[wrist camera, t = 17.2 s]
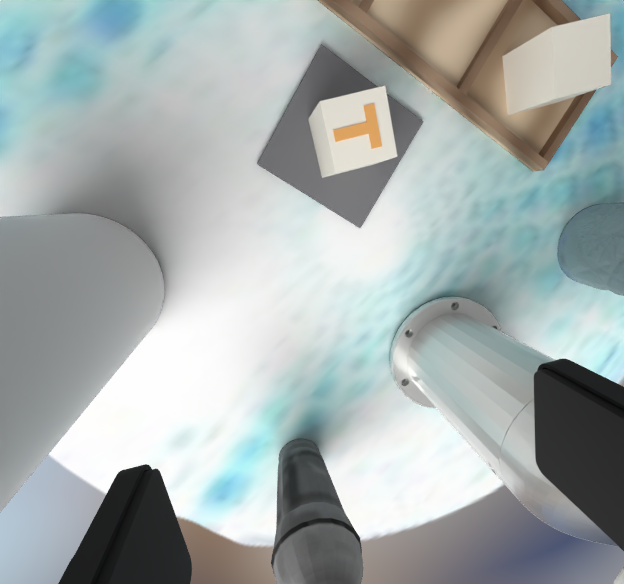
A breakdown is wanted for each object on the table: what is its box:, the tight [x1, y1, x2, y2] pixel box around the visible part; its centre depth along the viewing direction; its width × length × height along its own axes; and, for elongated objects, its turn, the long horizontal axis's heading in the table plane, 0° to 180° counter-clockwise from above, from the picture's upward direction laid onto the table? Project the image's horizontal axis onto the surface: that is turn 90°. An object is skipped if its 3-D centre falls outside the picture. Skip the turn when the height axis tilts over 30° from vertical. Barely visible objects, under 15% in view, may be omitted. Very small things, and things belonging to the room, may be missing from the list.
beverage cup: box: [271, 439, 363, 584], centre depth 29 cm, size 7×7×20 cm
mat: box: [258, 44, 423, 228], centre depth 32 cm, size 11×11×1 cm
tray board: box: [318, 0, 618, 171], centre depth 30 cm, size 33×12×1 cm, turn 59°
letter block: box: [308, 86, 397, 178], centre depth 29 cm, size 5×5×6 cm
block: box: [502, 13, 611, 115], centre depth 30 cm, size 5×5×6 cm
